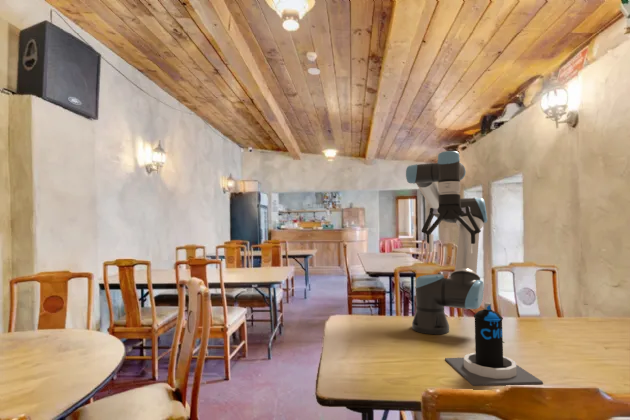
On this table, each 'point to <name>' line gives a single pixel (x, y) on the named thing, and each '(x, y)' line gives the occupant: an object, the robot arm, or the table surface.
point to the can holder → (491, 372)
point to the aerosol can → (488, 338)
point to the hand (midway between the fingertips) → (450, 252)
